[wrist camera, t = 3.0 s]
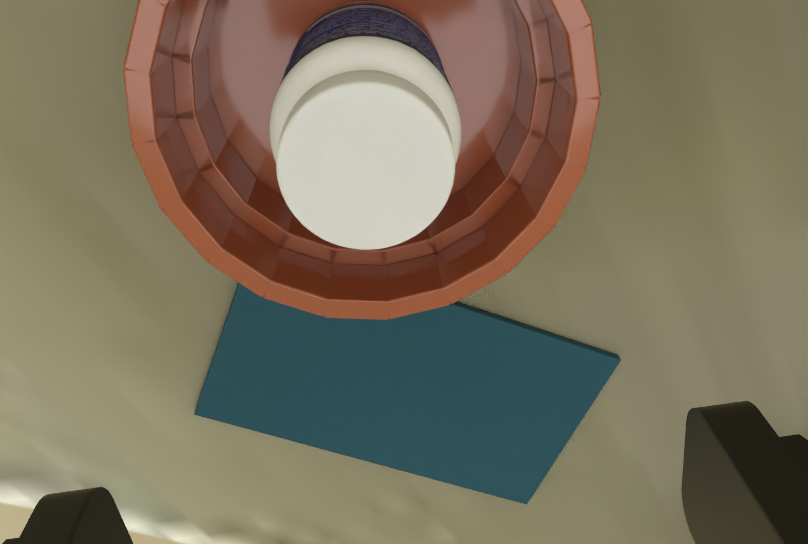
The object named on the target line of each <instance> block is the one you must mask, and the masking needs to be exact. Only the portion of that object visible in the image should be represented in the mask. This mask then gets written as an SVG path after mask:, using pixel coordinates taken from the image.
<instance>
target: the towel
mask: <svg viewBox="0 0 808 544" xmlns="http://www.w3.org/2000/svg"><path fill="white" fill-rule="evenodd" d="M619 362H620V358H619V356H618V355H615V354H612V353H609V352H606V351H603V350H600V349H597V348H594V347H591V346H588V345H585V344H582V343H579V342H576V341H573V340H570V339H567V338H564V337H561V336H558V335H555V334H552V333H549V332H546V331H543V330H539V329H536V328H533V327H530V326H527V325H524V324H521V323H518V322H515V321H512V320H509V319H506V318H503V317H500V316H497V315H494V314H491V313H488V312H485V311H482V310H479V309H476V308H473V307H470V306H467V305H464V304H461V303H458V302H455V303H453V304H451V303H450V305H448V306H444V307H440V308H435V309H431V310H427V311H423V312H418V313H414V314H410V315H406V316H401V317H397V318H393V319H388V320H376V319H348V318H325V316H319V315H316V314H313V313H310V312H307V311H303V310H300V309H297V308H294V307H291V306H287V305H284V304H281V303H278V302H275V301H271V300H268V299H265V298H264V297H260V296H259V295H257V294H256V293H254V292H253V291H251V290H250V289H248V288H246V287H245V286H243V285H242V284H240V283H239V284H238V287H237V290H236V293H235V296H234V299H233V302H232V305H231V307H230V310H229V313H228V316H227V319H226V322H225V325H224V328H223V331H222V334H221V337H220V340H219V343H218V345H217V348H216V351H215V354H214V357H213V360H212V363H211V366H210V369H209V372H208V375H207V378H206V380H205V383H204V386H203V389H202V392H201V395H200V398H199V401H198V404H197V407H196V410H195V413H194V414H195V415H199V416H202V417H206V418H210V419H213V420H217V421H221V422H224V423H228V424H232V425H235V426H239V427H243V428H247V429H250V430H254V431H258V432H261V433H265V434H269V435H272V436H276V437H280V438H284V439H287V440H291V441H295V442H298V443H302V444H306V445H309V446H313V447H317V448H320V449H324V450H328V451H332V452H335V453H339V454H343V455H346V456H350V457H354V458H357V459H361V460H365V461H369V462H372V463H376V464H380V465H383V466H387V467H391V468H394V469H398V470H402V471H405V472H409V473H413V474H417V475H420V476H424V477H428V478H431V479H435V480H439V481H442V482H446V483H450V484H454V485H457V486H461V487H465V488H468V489H472V490H476V491H479V492H483V493H487V494H490V495H494V496H498V497H502V498H505V499H509V500H513V501H516V502H520V503H524V504H527V503H528V502H529V500H530V499H531V497H532V496H533V494H534V492H535V491H536V489H537V488H538V486H539V485H540V483H541V482H542V480H543V479H544V477H545V476H546V474H547V473H548V471H549V469H550V468H551V466H552V465H553V463H554V462H555V460H556V459H557V457H558V456H559V454H560V453H561V451H562V450H563V448H564V446H565V445H566V443H567V442H568V440H569V439H570V437H571V436H572V434H573V433H574V431H575V430H576V428H577V427H578V425H579V423H580V422H581V420H582V419H583V417H584V416H585V414H586V413H587V411H588V410H589V408H590V407H591V405H592V403H593V402H594V400H595V399H596V397H597V396H598V394H599V393H600V391H601V390H602V388H603V387H604V385H605V384H606V382H607V380H608V379H609V377H610V376H611V374H612V373H613V371H614V370H615V368H616V367H617V365H618V364H619Z"/></svg>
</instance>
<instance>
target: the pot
mask: <svg viewBox="0 0 808 544" xmlns="http://www.w3.org/2000/svg"><path fill="white" fill-rule="evenodd" d="M359 1H371V2H379V3H383V4H387V5H390V6H393V7H395V8H397V9H399V10H401V11H403V12H405V13H406V14H408V15H409V16H410V17H412V18H413V19H414V20H415V21H417V22H418V23H419V24H420V25H421V26H422V28H423V29H424V30H425V31H426V32H427V34H428V35H429V37H430V38H431V40H432V41H433V43H434V45H435V47H436V50H437V52H438V54H439V57H440V59H441V62H442V65H443V68H444V71H445V74H446V76H447V78H448V81H449V83H450V85H451V88H452V90H453V93H454V97H455V100H456V103H457V106H458V110H459V115H460V120H461V145H460V151H459V155H458V159H457V162H456V165H455V176H454V182H453V187H452V189H451V192H450V195H449V198H448V200H447V202H446V204H445V206H444V207H443V209H442V210H441V212H440V213H439V215H438V216H437V217H436V218H435V219H434V220H433V222H432V223H431V224H429V225H428V226H427V227H426V228H425V229H424V230H423V231H421V232H420V233H419V234H417V235H416V236H414V237H412V238H410V239H408V240H406V241H404V242H402V243H400V244H397V245H394V246H390V247H387V248H381V249H371V250H359V249H352V248H347V247H343V246H339V245H336V244H333V243H330V242H329V241H326V240H324V239H322V238H320V237H318V236H317V235H315V234H314V233H312V232H311V231H309V230H308V229H307V228H306V227H305V226H304V225H302V224H301V222H300V221H299V220H298V219H297V218H296V217H295V216H294V214H293V213H292V212H291V210H290V209H289V207H288V206H287V204H286V202H285V200H284V198H283V196H282V193H281V190H280V187H279V184H278V179H277V172H276V162H275V159H274V156H273V152H272V148H271V142H270V117H271V110H272V106H273V102H274V98H275V96H276V93H277V90H278V88H279V85H280V83H281V80H282V78H283V75H284V73H285V70H286V67H287V65H288V63H289V60H290V58H291V55H292V53H293V50H294V48H295V46H296V44H297V42H298V40H299V39H300V37H301V36H302V34H303V33H304V31H305V30H306V29H307V28H308V27H309V25H310V24H311V23H312V22H313V21H315V20H316V19H317V18H318V17H319V16H321V15H322V14H323V13H325V12H327V11H329V10H331V9H332V8H334V7H337V6H340V5H343V4H346V3H351V2H359ZM591 23H592V20H591V18H590V16H589V14H588V12H587V10H586V7H585V5H584V3H583V1H582V0H138V4H137V9H136V13H135V18H134V22H133V27H132V31H131V35H130V40H129V44H128V49H127V53H126V58H125V62H124V70H123V72H124V81H125V90H126V100H127V109H128V118H129V127H130V136H131V142H132V146H133V149H134V151H135V153H136V155H137V158H138V160H139V162H140V164H141V167H142V169H143V171H144V173H145V176H146V178H147V180H148V182H149V185H150V187H151V189H152V191H153V194H154V196H155V198H156V200H157V202H158V205H159V207H160V209H162V211H163V212H164V213H165V215H166V216H167V217H168V218H169V219H170V220H171V222H172V223H173V224H174V225H175V226H176V227H177V228H178V230H179V231H180V232H181V233H182V234H183V235H184V237H185V238H186V239H187V240H188V241H189V242H190V243H191V245H192V246H193V247H194V248H195V249H196V250H197V252H198V253H199V254H200V255H201V256H202V257H203V258H204V260H207V262H208V263H209V264H211V265H213V266H214V267H216V268H217V269H219V270H220V271H222V272H223V273H225V274H226V275H228V276H229V277H231V278H233V279H234V280H236V281H237V282H239V283H240V284H242V285H243V286H245V287H246V288H248V289H250V290H251V291H253V292H254V293H256V294H257V295H259V296H260V297H264V298H265V299H268V300H271V301H275V302H278V303H281V304H284V305H287V306H291V307H294V308H297V309H300V310H303V311H307V312H310V313H313V314H316V315H319V316H325V318H348V319H376V320H388V319H393V318H397V317H401V316H406V315H410V314H414V313H418V312H423V311H427V310H431V309H435V308H440V307H444V306H448V305H450V303H451V304H453V303H455V302H457V301H459V300H460V299H462V298H464V297H466V296H468V295H469V294H471V293H473V292H475V291H477V290H479V289H480V288H482V287H484V286H486V285H488V284H489V283H491V282H493V281H495V280H497V279H499V278H500V277H502V276H504V275H505V274H506V272H507V273H508V272H510V271H511V270H512V269H513V268H514V267H515V266H516V265H517V264H518V263H519V262H520V261H521V260H522V259H523V258H524V257H525V256H526V255H527V254H528V253H529V252H530V251H531V250H532V249H533V248H534V247H535V246H536V245H537V244H538V243H539V242H540V241H541V240H542V239H543V238H544V237H545V236H546V235H547V234H548V233H549V232H550V231H551V230H552V229H553V227H555V225H556V224H557V222H558V220H559V218H560V216H561V214H562V213H563V211H564V209H565V207H566V205H567V203H568V202H569V200H570V198H571V196H572V194H573V192H574V191H575V189H576V187H577V185H578V183H579V182H580V180H581V178H582V176H583V174H584V172H585V171H586V166H587V164H588V159H589V154H590V149H591V144H592V139H593V134H594V129H595V124H596V119H597V114H598V109H599V104H600V98H599V97H600V95H601V93H600V84H599V76H598V67H597V58H596V50H595V41H594V32H593V25H592V24H591Z"/></svg>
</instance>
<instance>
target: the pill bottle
mask: <svg viewBox="0 0 808 544" xmlns="http://www.w3.org/2000/svg"><path fill="white" fill-rule="evenodd" d="M270 142H271V148H272V152H273V156H274V159H275V162H276V172H277V179H278V184H279V187H280V190H281V193H282V196H283V198H284V200H285V202H286V204H287V206H288V207H289V209H290V210H291V212H292V213H293V214H294V216H295V217H296V218H297V219H298V220H299V221H300V222H301V224H302V225H304V226H305V227H306V228H307V229H308V230H309V231H311V232H312V233H314V234H315V235H317V236H318V237H320V238H322V239H324V240H326V241H329V242H330V243H333V244H336V245H339V246H343V247H347V248H352V249H359V250H371V249H381V248H387V247H390V246H394V245H397V244H400V243H402V242H404V241H406V240H408V239H410V238H412V237H414V236H416V235H417V234H419V233H420V232H421V231H423V230H424V229H425V228H426V227H427V226H428V225H429V224H431V223H432V222H433V220H434V219H435V218H436V217H437V216H438V215H439V213H440V212H441V210H442V209H443V207H444V206H445V204H446V202H447V200H448V198H449V195H450V192H451V189H452V187H453V182H454V176H455V165H456V162H457V159H458V155H459V151H460V145H461V120H460V115H459V110H458V106H457V103H456V100H455V97H454V93H453V90H452V88H451V85H450V83H449V81H448V78H447V76H446V74H445V71H444V68H443V65H442V62H441V59H440V57H439V54H438V52H437V50H436V47H435V45H434V43H433V41H432V40H431V38H430V37H429V35H428V34H427V32H426V31H425V30H424V29H423V28H422V26H421V25H420V24H419V23H418V22H417V21H415V20H414V19H413V18H412V17H410V16H409V15H408V14H406V13H405V12H403V11H401V10H399V9H397V8H395V7H393V6H390V5H387V4H383V3H379V2H371V1H359V2H351V3H346V4H343V5H340V6H337V7H334V8H332V9H331V10H329V11H327V12H325V13H323V14H322V15H321V16H319V17H318V18H317V19H316V20H315V21H313V22H312V23H311V24H310V25H309V27H308V28H307V29H306V30H305V31H304V33H303V34H302V36H301V37H300V39H299V40H298V42H297V44H296V46H295V48H294V50H293V53H292V55H291V58H290V60H289V63H288V65H287V67H286V70H285V73H284V75H283V78H282V80H281V83H280V85H279V88H278V90H277V93H276V96H275V98H274V102H273V106H272V110H271V117H270Z"/></svg>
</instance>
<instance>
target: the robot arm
mask: <svg viewBox="0 0 808 544" xmlns="http://www.w3.org/2000/svg"><path fill="white" fill-rule="evenodd" d="M682 501H683V507H684V512H685V516H686V520H687V523H688V526H689V529H690V532H691V534H692V536H693V539H694V541H695V543H696V544H808V440H807V439H805V438H804V437H802V436H801V435H799V434H798V435H791V436H783V437H779V436H778V435H777V434H776V432H775V431H774V430H773V428H772V427H771V426H770V424H769V423H768V422H767V420H766V419H765V418H764V416H763V415H762V414H761V412H760V411H759V410H758V408H757V407H756V406H755V405H754V404H752V403H751V402H749V401H742V402H735V403H728V404H720V405H713V406H706V407H698V408H692V409H691V410H690V411H689V412H688V415H687V421H686V434H685V449H684V463H683V477H682ZM3 544H133V542H132V540H131V537H130V535H129V533H128V531H127V528H126V526H125V524H124V522H123V520H122V517H121V515H120V513H119V511H118V508H117V506H116V504H115V502H114V500H113V497H112V496H111V494H110V492H109V491H108V490H107V489H105V488H103V487H98V488H90V489H83V490H76V491H68V492H61V493H54V494H48V495H45V496H44V497H43V498H41V500H40V501H39V502H38V504H37V505H36V507H35V509H34V511H33V513H32V514H31V516H30V518H29V520H28V522H27V524H26V526H25V528H24V530H23V532H22V534H21V535H20V538H14V539H6V540H5V541H4V542H3Z"/></svg>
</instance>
